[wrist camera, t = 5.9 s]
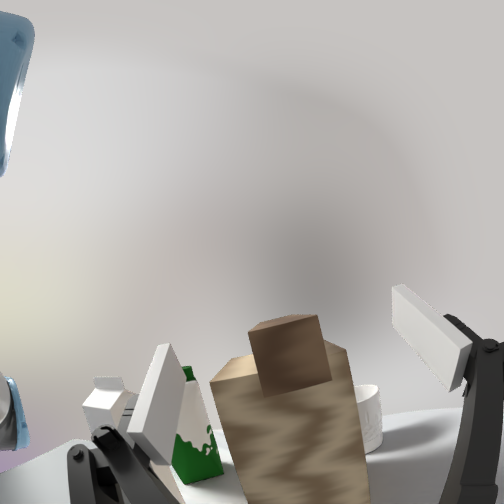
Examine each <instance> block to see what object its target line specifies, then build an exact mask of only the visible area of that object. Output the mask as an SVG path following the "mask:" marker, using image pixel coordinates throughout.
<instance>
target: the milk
mask: <svg viewBox="0 0 504 504" xmlns="http://www.w3.org/2000/svg"><path fill="white" fill-rule="evenodd" d="M93 380H94V384H95V389H94V391H93V392H92V393H91V395H90V396H89V397H88V398H87V400H86V401H85V402H84V403H83V405H82V407H83V410H84V413H85V416H86V419H87V422H88V425H89V428H90V431H91V434H92V433H93V432H94V430H95V429H96V428H98V427H99V426H101V425H105V424H109V425H112V426H113V427H114V428H115V429H116V430H117V427H118V424H119V422H120V419H121V416H122V414H123V411H124V410H125V409H124V408H125V406H126V403H127V401H128V400H129V399H130V398H131V396H132V395H135V394H136V393H133V392H130V391H128V390H126V389H125V388H124V385H123V381H122V379H121V377H94V378H93ZM150 463H151V465H152V468H153V470H154V472H155V473H156V475H157V476H158V477H159V479H160V480H161V481H162V482H163V484H164V485H165V486H166V487H167V489H168V490H169V491H170V492H171V493H172V495H173V496H174V497H175V498H176V499H177V500H178V502H179V503H180V504H185V502H184V500H183V498H182V495H181V493H180V491H179V489H178V487H177V484H176V482H175V480H174V477H173V475H172V473H171V470H170V468H169V465H155V464H154V463H153V462H152V461H151V459H150Z"/></svg>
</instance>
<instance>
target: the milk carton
mask: <svg viewBox="0 0 504 504" xmlns="http://www.w3.org/2000/svg"><path fill="white" fill-rule="evenodd" d="M182 369H183V371H184V373H185V375H186V377H187V378H186V383H185V389H184V394H183V399H182V404H181V409H180V415H179V420H178V426H177V431H176V437H175V443H174V449H173V454H172V461H171V465H172V466H173V468H174V470H175V471H176V473H177V474H178V476H179V477H180V479H181V480H182V482H183V484H188V483H192V482H196V481H200V480H204V479H208V478H211V477H215V476H218V475H222V474H224V472H223V468H222V464H221V460H220V456H219V451H218V447H217V444H216V441H215V438H214V434H213V431H212V428H211V425H210V422H209V418H208V415H207V412H206V408H205V405H204V402H203V398H202V395H201V392H200V388H199V384H198V382H197V380H196V378H195V377H194V375H193V371H192V367H191V366H184V367H182Z"/></svg>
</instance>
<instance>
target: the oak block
mask: <svg viewBox="0 0 504 504" xmlns="http://www.w3.org/2000/svg"><path fill="white" fill-rule="evenodd" d="M323 340H324V339H323ZM324 345H325V349H326V353H327V358H328V362H329V367H330V371H331V376H332V381H329V382H325V383H322V384H319V385H315V386H311V387H308V388H304V389H300V390H296V391H292V392H288V393H284V394H280V395H275V396H271V397H266V398H264V396H263V392H262V388H261V384H260V380H259V376H258V372H257V368H256V364H255V360H254V356H253V354H251V355H247V356H242V357H237V358H232V359H231V360H230V361H229V362H228V363H227V364H226V365H225V366H224V367H223V368H222V369H221V370H220V371H219V373H218V374H217V375H216V376H215V377H214V378H213V379H212V380H211V381H210V386H211V390H212V393H213V397H214V401H215V404H216V408H217V411H218V415H219V418H220V422H221V425H222V428H223V432H224V435H225V438H226V441H227V444H228V448H229V451H230V454H231V457H232V460H233V463H234V466H235V469H236V471H237V474H238V477H239V480H240V483H241V486H242V488H243V491H244V494H245V496H246V499H247V502H248V504H371V503H370V492H369V483H368V474H367V466H366V458H365V451H364V444H363V437H362V431H361V424H360V418H359V413H358V407H357V401H356V396H355V391H354V385H353V381H352V375H351V371H350V366H349V362H348V357H347V352H346V349H344V348H341V347H339V346H337V345H335V344H332V343H330V342H328V341H326V340H324Z"/></svg>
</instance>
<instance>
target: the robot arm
mask: <svg viewBox="0 0 504 504" xmlns="http://www.w3.org/2000/svg"><path fill="white" fill-rule="evenodd" d="M34 37H35V33H34V27H33V25H32V23H31V22H30V21H29V20H28V19H27V18H25V17H22V16H19V15H15V14H11V13H6V12H2V11H0V177H2V176H3V175H4V174H5V172H6V170H7V166H8V161H9V157H10V151H11V145H12V138H13V132H14V128H15V123H16V118H17V113H18V108H19V104H20V99H21V95H22V90H23V86H24V81H25V77H26V73H27V69H28V65H29V61H30V57H31V53H32V49H33V44H34ZM392 326H393V327H394V328H395V329H396V331H397V332H398V333H399V334H400V335H401V336H402V337H403V338H404V340H405V341H406V342H407V343H408V344H409V345H410V346H411V348H412V349H413V350H414V351H415V352H416V354H417V355H418V356H419V357H420V358H421V359H422V361H423V362H424V363H425V364H426V365H427V366H428V368H429V369H430V370H431V371H432V373H433V374H434V375H435V376H436V377H437V379H438V380H439V381H440V382H441V384H442V385H443V386H444V387H445V388H446V390H447V391H448V392H451V391H452V390H454V389H456V388H458V387H459V386H461V383H462V380H463V377H464V378H465V379H466V381H467V384H466V387H465V390H464V393H463V395H462V396H463V397H464V396H465V398H464V405H463V412H462V418H461V424H460V429H459V434H458V439H457V444H456V448H455V452H454V456H453V460H452V464H451V467H450V471H449V474H448V478H447V481H446V484H445V487H444V490H443V493H442V496H441V499H440V501H439V504H495V502H496V498H497V493H498V486H497V485H496V484H495V477H496V472H497V466H498V460H499V453H500V446H501V436H502V424H503V400H504V342H502V343H498V342H497V341H495V340H494V339H484V340H483V339H482V338H480V337H479V336H478V335H477V334H475V333H474V332H473V331H472V330H471V329H470V328H469V327H466V325H465V324H464V323H462V322H461V321H460V320H459V319H458V318H457V317H455V316H452V315H450V314H446V315H444V316H442V315H441V314H440V313H438V312H437V311H436V310H435V309H434V308H433V307H431V306H430V305H429V304H428V303H426V302H425V301H424V300H423V299H422V298H420V297H419V296H418V295H417V294H415V293H414V292H413V291H411V290H410V289H409V288H408V287H407V286H405V285H404V284H403V283H402V284H400V285H396V286H393V287H392ZM186 378H187V377H186V375H185V373H184V371H183V369H182V367H181V365H180V363H179V361H178V359H177V357H176V355H175V353H174V351H173V348H172V346H171V344H170V343H167V344H161V345H158V347H157V349H156V352H155V354H154V357H153V360H152V362H151V365H150V368H149V370H148V373H147V376H146V378H145V381H144V383H143V386H142V389H141V392H140V394H135V395H132V396H131V398H130V399H129V400H128V401H127V403H126V406H125V408H124V409H125V410H124V411H123V414H122V416H121V419H120V422H119V424H118V427H117V430H116V429H115V428H114V427H113V426H112V425H109V424H105V425H101V426H99V427H98V428H96V429H95V430H94V432H93V433H92V436H91V439H92V442H93V443H94V444H95V445H96V446H97V447H98V448H95V449H90V450H89V449H88V448H87V447H86V446H85V445H84V444H76V445H74V446H72V447H71V448H70V449H69V451H68V452H67V472H68V485H69V495H70V504H125V503H124V500H123V496H122V492H121V489H122V490H123V492H124V494H125V495H126V497H127V498H128V500H129V502H130V503H131V504H180V503H179V502H178V500H177V499H176V498H175V497H174V496H173V495H172V493H171V492H170V491H169V490H168V489H167V487H166V486H165V485H164V484H163V482H162V481H161V480H160V479H159V477H158V476H157V475H156V473H155V472H154V471H153V469H152V468H151V467H150V466H149V463H150V459H151V461H152V462H153V463H154V464H155V465H169V466H170V465H171V461H172V454H173V449H174V443H175V437H176V431H177V426H178V420H179V415H180V409H181V404H182V399H183V394H184V389H185V383H186ZM29 443H30V437H29V432H28V428H27V424H26V421H25V415H24V411H23V407H22V404H21V399H20V396H19V392H18V389H17V385H16V383H15V381H14V380H13V379H12V378H9V377H6V376H3V375H2V373H1V372H0V451H6V450H12V451H16V450H18V449H21V448H26V447H28V445H29ZM120 487H121V489H120Z"/></svg>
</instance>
